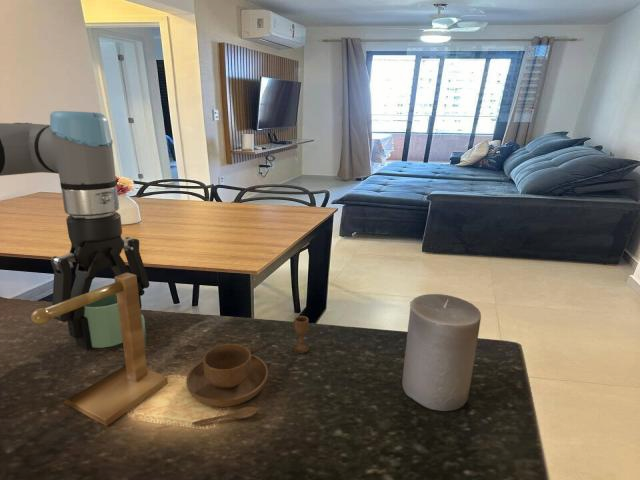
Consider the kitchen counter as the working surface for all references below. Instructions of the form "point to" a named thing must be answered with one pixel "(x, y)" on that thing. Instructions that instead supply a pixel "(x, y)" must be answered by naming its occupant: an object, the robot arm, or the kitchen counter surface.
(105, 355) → the kitchen counter surface
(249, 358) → the place setting
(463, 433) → the kitchen counter surface
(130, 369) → the mug stand
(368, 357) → the kitchen counter surface
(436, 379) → the pillar candle
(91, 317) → the mug
